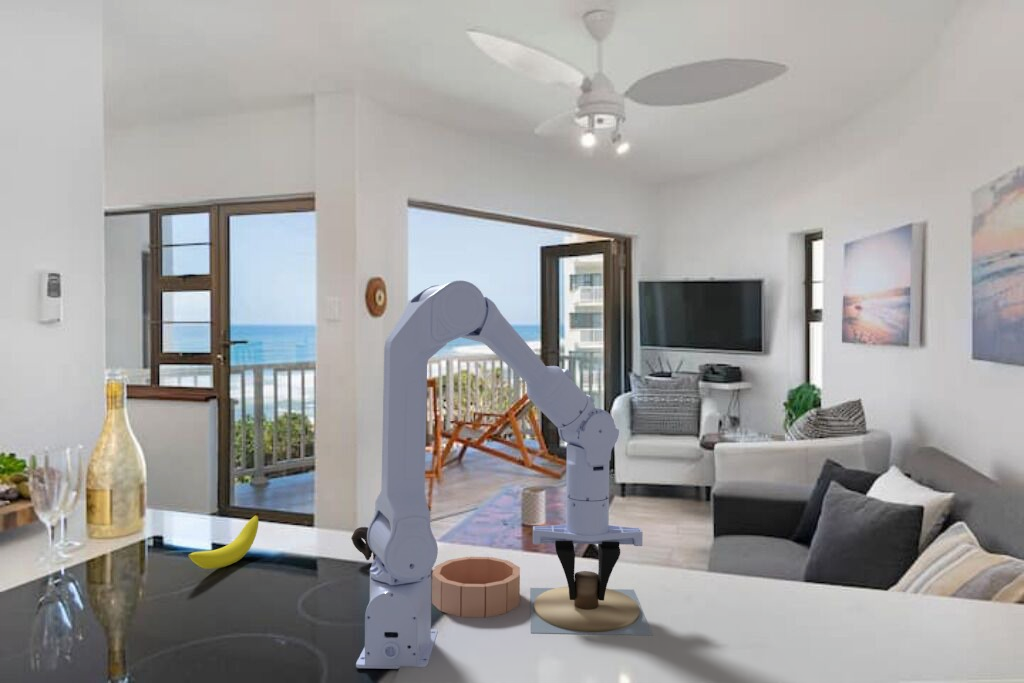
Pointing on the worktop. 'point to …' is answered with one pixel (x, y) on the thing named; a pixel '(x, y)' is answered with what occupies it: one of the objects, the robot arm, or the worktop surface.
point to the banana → (228, 548)
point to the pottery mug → (362, 542)
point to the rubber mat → (545, 628)
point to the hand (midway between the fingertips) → (586, 597)
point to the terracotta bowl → (476, 586)
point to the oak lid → (586, 607)
